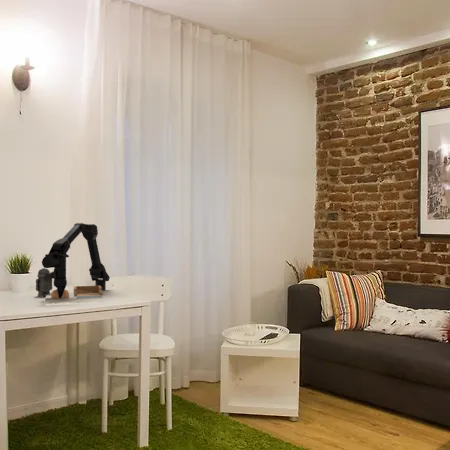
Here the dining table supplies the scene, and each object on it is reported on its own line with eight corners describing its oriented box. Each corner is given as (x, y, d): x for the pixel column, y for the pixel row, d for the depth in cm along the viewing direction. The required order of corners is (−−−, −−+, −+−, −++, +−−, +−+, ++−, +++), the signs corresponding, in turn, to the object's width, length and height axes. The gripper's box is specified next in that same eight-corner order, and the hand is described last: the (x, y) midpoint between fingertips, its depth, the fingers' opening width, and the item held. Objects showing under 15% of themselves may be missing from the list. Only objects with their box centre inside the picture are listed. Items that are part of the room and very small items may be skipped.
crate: (73, 295, 283) (73, 286, 283) (100, 294, 287) (100, 285, 287) (74, 298, 273) (74, 288, 273) (101, 297, 277) (101, 287, 277)
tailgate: (76, 296, 273) (76, 296, 265) (100, 295, 276) (101, 295, 269) (76, 298, 272) (76, 298, 265) (100, 297, 276) (101, 297, 268)
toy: (38, 297, 275) (38, 268, 275) (34, 296, 280) (34, 268, 280) (54, 296, 281) (54, 268, 280) (50, 294, 285) (50, 267, 285)
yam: (50, 300, 265) (50, 290, 265) (51, 299, 269) (51, 289, 269) (69, 299, 267) (69, 289, 267) (69, 298, 272) (69, 288, 272)
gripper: (44, 265, 275) (43, 295, 275) (43, 268, 257) (42, 300, 257) (66, 265, 278) (66, 294, 278) (66, 268, 260) (66, 299, 260)
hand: (60, 297), depth 268 cm, fingers closed on yam, 5 cm apart
